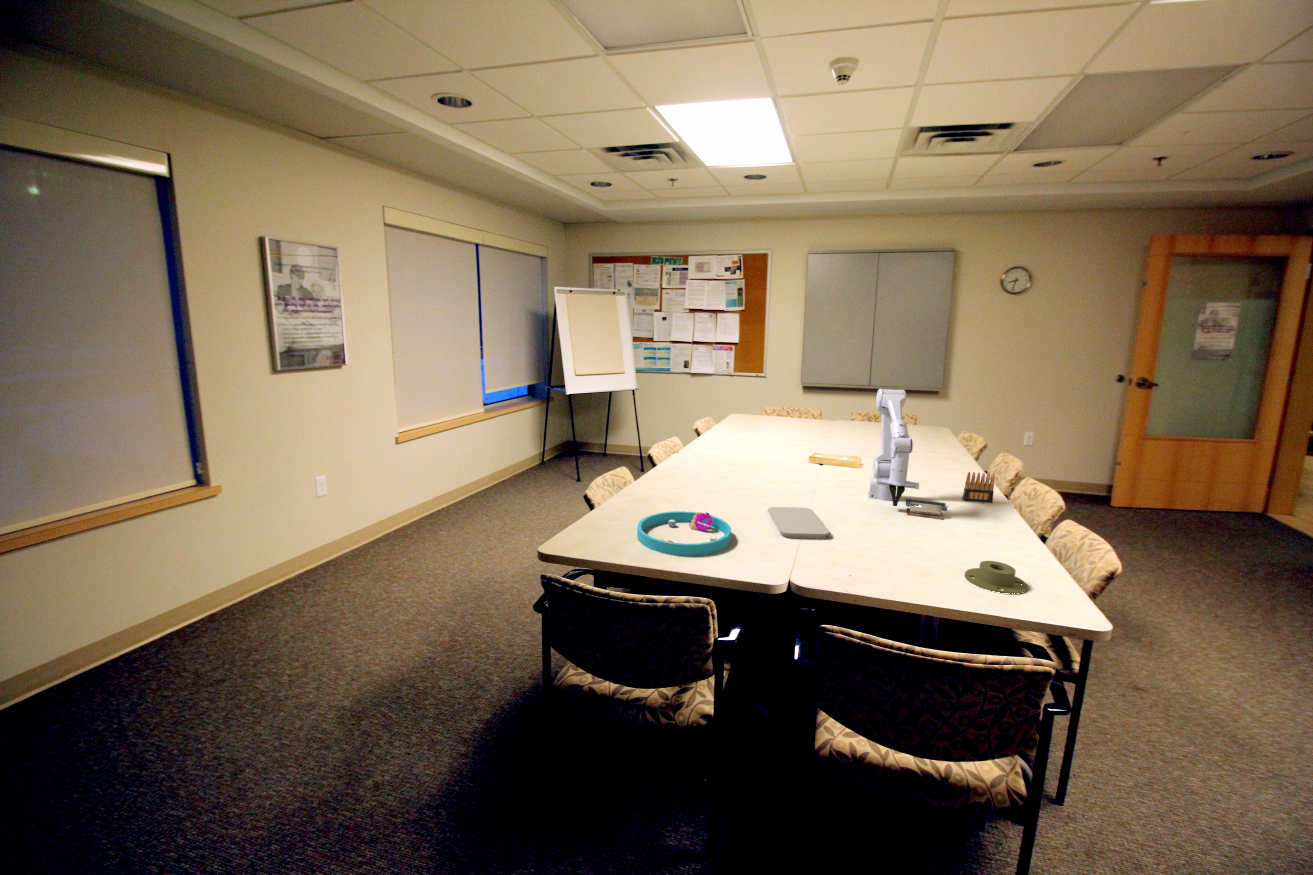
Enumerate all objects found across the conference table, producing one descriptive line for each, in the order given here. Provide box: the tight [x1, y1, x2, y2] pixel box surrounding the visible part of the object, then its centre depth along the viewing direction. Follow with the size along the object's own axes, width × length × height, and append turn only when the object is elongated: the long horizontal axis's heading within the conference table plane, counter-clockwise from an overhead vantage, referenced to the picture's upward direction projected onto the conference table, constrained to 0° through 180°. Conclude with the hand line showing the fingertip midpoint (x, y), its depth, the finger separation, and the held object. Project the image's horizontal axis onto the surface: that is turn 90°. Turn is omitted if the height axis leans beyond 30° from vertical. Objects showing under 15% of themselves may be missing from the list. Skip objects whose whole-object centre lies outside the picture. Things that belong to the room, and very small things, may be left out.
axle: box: [909, 502, 942, 517], centre depth 209 cm, size 10×4×4 cm, turn 69°
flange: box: [964, 560, 1028, 595], centre depth 158 cm, size 5×15×15 cm
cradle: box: [905, 497, 948, 512], centre depth 219 cm, size 14×7×2 cm, turn 69°
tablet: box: [767, 506, 830, 540], centre depth 198 cm, size 16×26×2 cm, turn 0°
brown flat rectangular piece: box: [905, 507, 945, 521], centre depth 209 cm, size 12×7×2 cm, turn 69°
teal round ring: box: [636, 510, 732, 557], centre depth 185 cm, size 30×30×6 cm
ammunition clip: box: [961, 471, 995, 504], centre depth 228 cm, size 11×2×12 cm, turn 80°
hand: (894, 505), depth 212 cm, fingers closed
